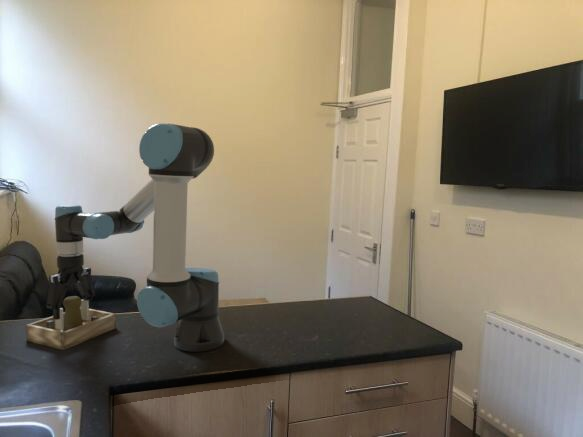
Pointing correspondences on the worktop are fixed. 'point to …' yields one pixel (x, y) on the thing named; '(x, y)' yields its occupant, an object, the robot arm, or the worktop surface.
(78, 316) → the cork
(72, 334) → the socket box
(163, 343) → the worktop surface
